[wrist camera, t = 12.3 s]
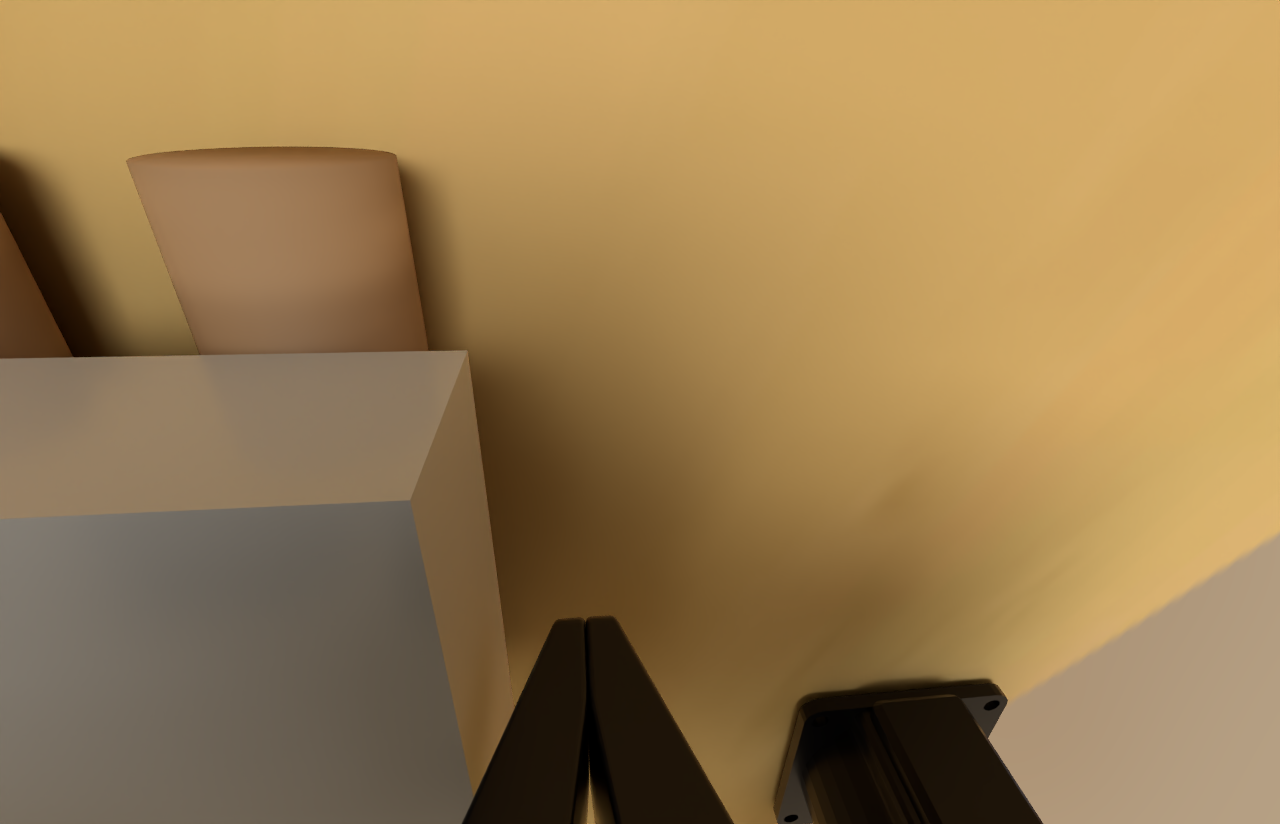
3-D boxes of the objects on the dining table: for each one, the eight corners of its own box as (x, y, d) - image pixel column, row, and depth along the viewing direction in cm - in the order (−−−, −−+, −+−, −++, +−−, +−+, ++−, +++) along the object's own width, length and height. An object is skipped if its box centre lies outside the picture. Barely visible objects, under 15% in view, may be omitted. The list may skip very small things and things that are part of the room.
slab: (517, 732, 11) (502, 931, 8) (-67, 786, 10) (-294, 1033, 7) (467, 350, 7) (410, 500, 4) (-508, 368, 6) (-1338, 580, 3)
